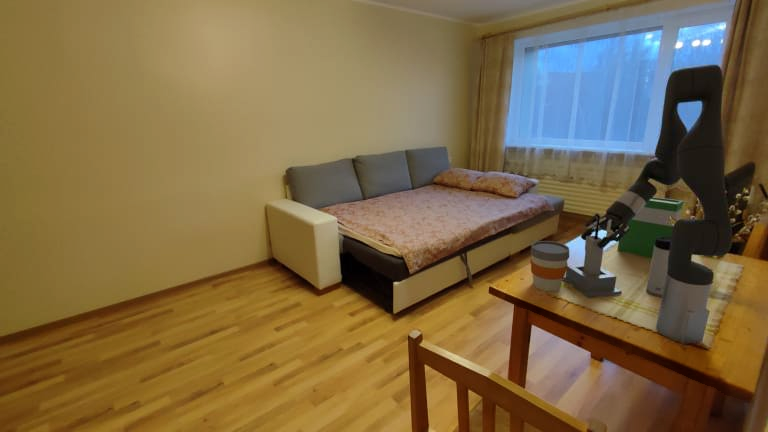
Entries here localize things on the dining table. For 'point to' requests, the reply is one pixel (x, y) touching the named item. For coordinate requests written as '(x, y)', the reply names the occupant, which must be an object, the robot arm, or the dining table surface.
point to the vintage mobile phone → (593, 254)
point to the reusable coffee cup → (548, 264)
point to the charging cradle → (591, 282)
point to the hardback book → (650, 226)
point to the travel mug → (659, 266)
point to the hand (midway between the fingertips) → (590, 242)
